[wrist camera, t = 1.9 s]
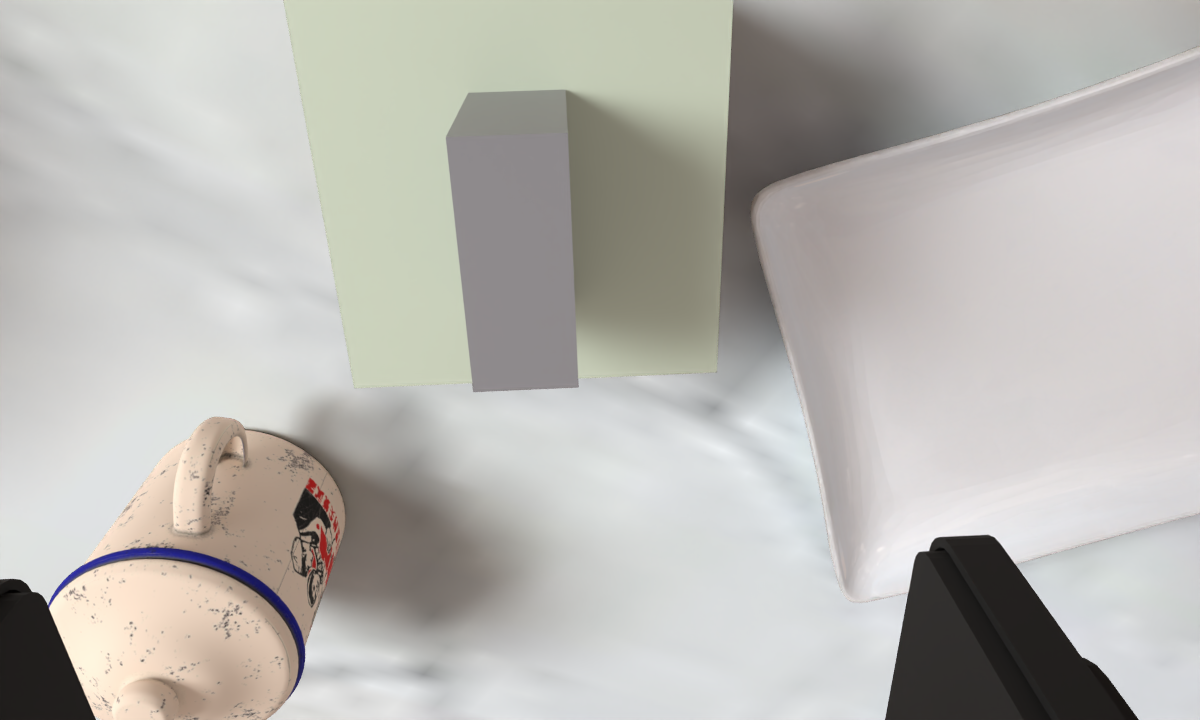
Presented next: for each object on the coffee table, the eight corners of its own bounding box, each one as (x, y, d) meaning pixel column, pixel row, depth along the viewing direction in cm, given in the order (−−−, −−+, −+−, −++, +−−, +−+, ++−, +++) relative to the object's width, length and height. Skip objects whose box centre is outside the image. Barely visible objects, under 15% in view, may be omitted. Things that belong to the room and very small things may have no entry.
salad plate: (1265, 446, 40) (1323, 489, 37) (827, 567, 42) (848, 617, 39) (1292, -19, 30) (1373, -12, 27) (723, 169, 33) (741, 195, 30)
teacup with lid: (345, 592, 41) (275, 818, 31) (149, 568, 40) (7, 795, 30) (365, 380, 36) (288, 566, 26) (139, 345, 35) (-38, 526, 24)
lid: (295, -12, 22) (205, 11, 16) (725, -25, 22) (782, -7, 16) (362, 369, 27) (312, 486, 21) (710, 354, 27) (749, 465, 21)
